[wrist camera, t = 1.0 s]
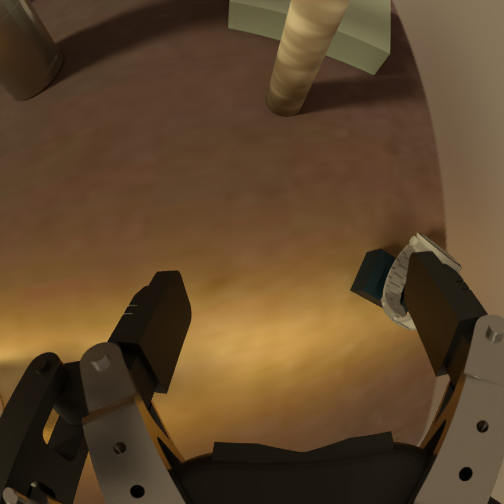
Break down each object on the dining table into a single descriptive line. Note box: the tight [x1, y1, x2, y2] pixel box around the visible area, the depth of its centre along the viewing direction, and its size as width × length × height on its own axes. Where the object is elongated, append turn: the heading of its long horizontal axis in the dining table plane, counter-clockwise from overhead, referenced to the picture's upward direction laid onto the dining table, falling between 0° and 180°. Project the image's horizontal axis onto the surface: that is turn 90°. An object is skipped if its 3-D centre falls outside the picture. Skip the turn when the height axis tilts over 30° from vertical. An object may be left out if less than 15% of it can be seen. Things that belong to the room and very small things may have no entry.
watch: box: [350, 233, 462, 330], centre depth 24 cm, size 6×8×11 cm
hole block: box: [228, 0, 391, 75], centre depth 30 cm, size 20×16×5 cm
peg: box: [266, 0, 350, 117], centre depth 23 cm, size 4×4×16 cm
